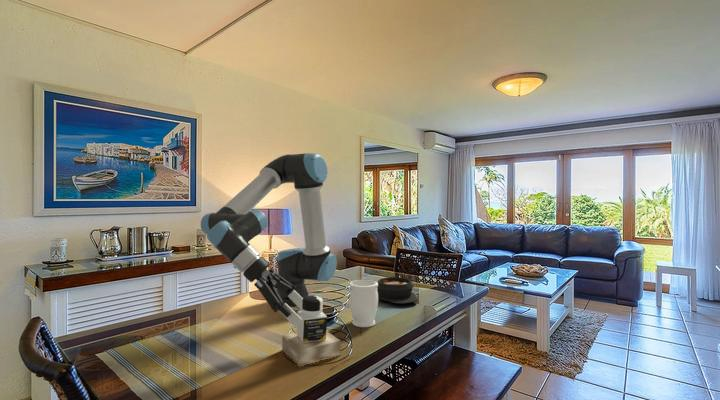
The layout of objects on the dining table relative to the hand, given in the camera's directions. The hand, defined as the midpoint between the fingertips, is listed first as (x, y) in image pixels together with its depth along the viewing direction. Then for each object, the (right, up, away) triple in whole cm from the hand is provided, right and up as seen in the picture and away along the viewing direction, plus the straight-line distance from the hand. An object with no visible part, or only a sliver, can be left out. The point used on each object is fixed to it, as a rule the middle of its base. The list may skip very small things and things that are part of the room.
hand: (302, 314), depth 107 cm
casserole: (+33, -11, +55) cm, 65 cm away
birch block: (+3, -12, 0) cm, 12 cm away
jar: (+19, -11, +24) cm, 33 cm away
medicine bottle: (+3, -7, 0) cm, 7 cm away
